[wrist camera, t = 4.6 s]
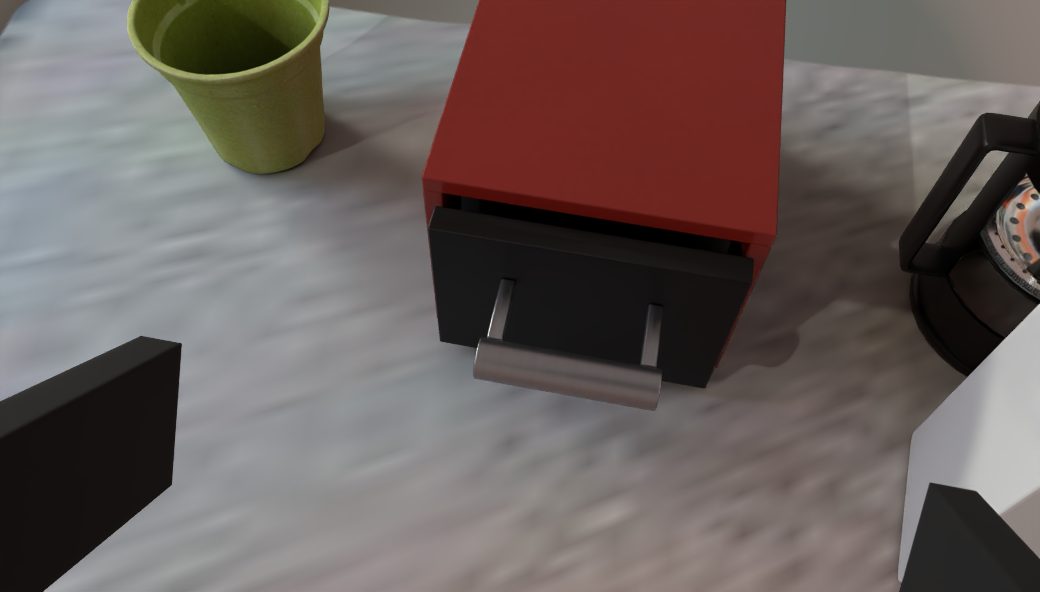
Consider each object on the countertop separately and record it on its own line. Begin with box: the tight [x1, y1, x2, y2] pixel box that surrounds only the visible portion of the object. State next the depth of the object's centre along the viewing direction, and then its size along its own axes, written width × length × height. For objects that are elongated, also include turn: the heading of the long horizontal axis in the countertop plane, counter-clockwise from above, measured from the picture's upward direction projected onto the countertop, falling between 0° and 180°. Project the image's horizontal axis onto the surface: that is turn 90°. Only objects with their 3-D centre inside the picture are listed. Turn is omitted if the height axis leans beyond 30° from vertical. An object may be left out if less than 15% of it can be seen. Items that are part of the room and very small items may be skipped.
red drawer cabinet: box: [422, 0, 786, 368], centre depth 42 cm, size 16×14×11 cm
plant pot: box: [127, 0, 329, 174], centre depth 45 cm, size 9×9×9 cm
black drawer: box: [428, 196, 754, 411], centre depth 39 cm, size 19×12×9 cm, turn 169°
